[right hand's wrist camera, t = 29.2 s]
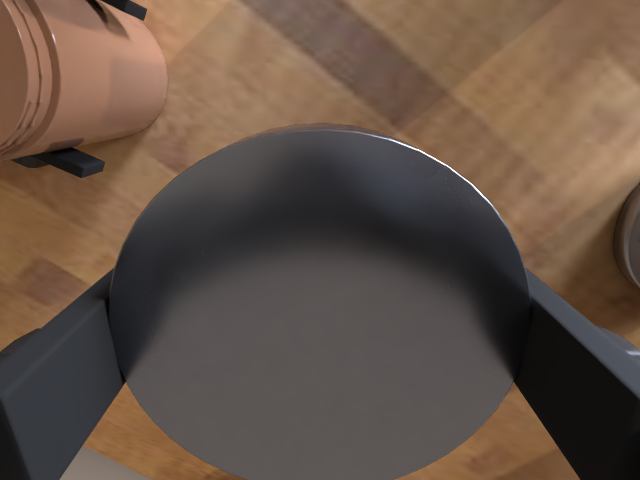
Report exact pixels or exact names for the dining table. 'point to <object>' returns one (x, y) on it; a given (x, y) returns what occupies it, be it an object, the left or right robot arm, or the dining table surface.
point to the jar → (74, 75)
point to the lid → (319, 307)
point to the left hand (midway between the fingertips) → (113, 95)
